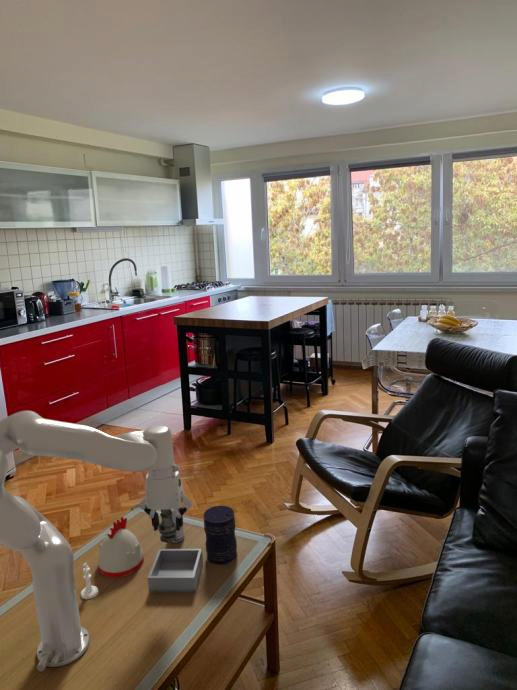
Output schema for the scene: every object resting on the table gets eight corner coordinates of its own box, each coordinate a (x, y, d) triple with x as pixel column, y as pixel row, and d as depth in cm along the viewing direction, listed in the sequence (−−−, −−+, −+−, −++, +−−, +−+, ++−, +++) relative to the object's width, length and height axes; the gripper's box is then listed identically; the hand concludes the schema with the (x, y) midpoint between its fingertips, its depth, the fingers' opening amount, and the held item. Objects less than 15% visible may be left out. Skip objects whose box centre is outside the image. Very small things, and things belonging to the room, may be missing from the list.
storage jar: (201, 562, 163) (197, 520, 160) (213, 544, 173) (210, 503, 169) (231, 567, 160) (227, 524, 157) (241, 548, 169) (239, 507, 166)
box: (195, 592, 150) (194, 577, 149) (149, 592, 151) (147, 577, 150) (203, 562, 163) (201, 548, 162) (160, 563, 164) (159, 549, 163)
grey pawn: (181, 530, 151) (177, 493, 148) (176, 543, 145) (171, 504, 143) (162, 530, 152) (157, 493, 149) (156, 542, 146) (151, 504, 143)
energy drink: (187, 536, 178) (184, 504, 175) (177, 544, 173) (174, 512, 171) (175, 532, 181) (172, 501, 178) (165, 540, 176) (162, 508, 173)
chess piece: (90, 585, 155) (86, 556, 153) (101, 590, 153) (97, 560, 151) (77, 595, 151) (72, 565, 149) (88, 601, 149) (84, 570, 147)
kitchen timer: (152, 556, 168) (148, 514, 165) (123, 582, 156) (117, 538, 153) (119, 545, 175) (115, 505, 171) (89, 570, 163) (83, 527, 159)
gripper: (194, 463, 147) (200, 520, 151) (135, 464, 148) (142, 520, 153) (189, 476, 139) (195, 535, 144) (126, 477, 141) (134, 535, 145)
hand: (168, 527), depth 148 cm, fingers closed on grey pawn, 5 cm apart
